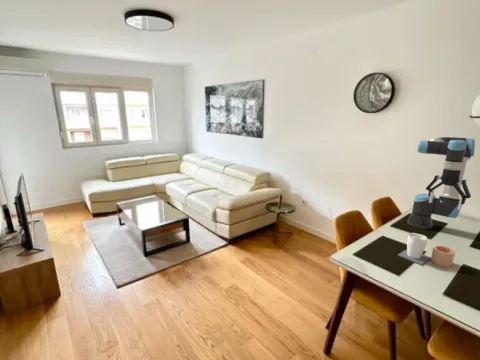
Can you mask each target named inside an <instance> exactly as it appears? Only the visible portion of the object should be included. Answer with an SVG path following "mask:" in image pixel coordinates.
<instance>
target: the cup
mask: <svg viewBox="0 0 480 360" xmlns="http://www.w3.org/2000/svg"><path fill="white" fill-rule="evenodd" d="M407 234H408V235H407V239H406V247H407V248H406V249H407V255H408V256H410V257H412V258H416V259H419V258H421V256H422V254H423V253H424V251H425V248H426V245H427V240H428V238H427V236H426V235H424V234H422V233H415V232H410V233H407ZM423 255H424V254H423Z"/></svg>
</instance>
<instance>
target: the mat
mask: <svg viewBox="0 0 480 360" xmlns="http://www.w3.org/2000/svg"><path fill="white" fill-rule="evenodd" d="M397 256H398V257H401V258H402V259H404V260H408V261H410V262H412V263H415V264H417V265H420V266H423V265H424V264H425V263H427V262H428V261H429V260H431V256H429V255H426V254H422V256H421V258H419V259H416V258H412V257H410V256H408V255H407V248H406V249H405V250H402V251H401V252H400V253H398V254H397Z"/></svg>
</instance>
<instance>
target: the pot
mask: <svg viewBox="0 0 480 360" xmlns="http://www.w3.org/2000/svg"><path fill="white" fill-rule="evenodd" d="M430 257H431V259H430V260H431V262H432V264H434V265H436V266H439V267H442V268H451V267H452V265H453V264H454V259H455V257H456V251H454V249H452V248H450V247H448V246H445V245H436V244H435V245H434V246H433V248H432V252H431V256H430Z"/></svg>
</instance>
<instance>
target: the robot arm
mask: <svg viewBox="0 0 480 360" xmlns="http://www.w3.org/2000/svg"><path fill="white" fill-rule="evenodd" d="M475 145H476V142H475V139H474V138H471V137H454V136H453V137H451V136H445V137H444V136H443V137H436V138H432V139H431V140H420V141H419V142H418V147H417V152H418V153H419V154H423V155H424V154H428V155H438V156H439V155H440V156H441V155H442V156H445V159H444V160H445V161H444V165H443V169H442V174H441V176H440V175H438V174H437V175H434V178H433V180H432V181H431V182H430V183H429V184H428V185H427V186H426V187H425V190H426V191H428V193H418V194H415V196H414V200H413V206H412V210H411V211H412V212H411V214H410V215H409V217H408V219H407V221H406V222H407V225H409V226H411V227H412V228H417V229H421V230H430V229H432V228H433V225H434V223H433V219H432V215H436V216H441V217H445V218H450V219H451V218H452V219H456V218H457V217H458V216H459V214H460V212H461V210H462V207H463V205H464V204H465V203H466V201H467V200H466V199H470V198H472V195H471V192H470V190H469V188H468V185H467V179H464V175H465V171H466V167H467V166H466V165H467V163H468V161H470V160H471V157H474V156H475V150H476V149H475V147H476V146H475ZM438 180H440V182H439V183H438V184H436V183H437V181H438ZM434 184H436V185H434ZM442 185H444V188H443V191H442V194H440V195H439V197H436V195H435V191H434V190H436V189H438V188H439V187H441V186H442Z"/></svg>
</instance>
